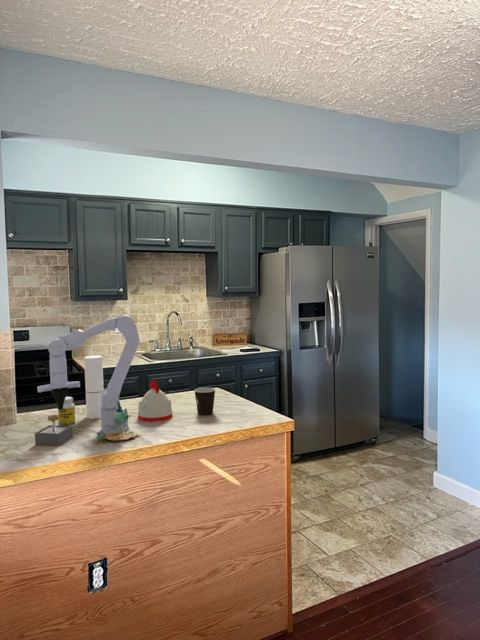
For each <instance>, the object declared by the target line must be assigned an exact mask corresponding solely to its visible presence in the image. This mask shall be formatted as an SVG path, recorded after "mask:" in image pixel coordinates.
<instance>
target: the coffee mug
mask: <svg viewBox="0 0 480 640" xmlns="http://www.w3.org/2000/svg"><path fill="white" fill-rule="evenodd" d="M194 394H195V395H194V396H195V403H196V404H195V405H196V410H197V411H196V412H197V415H199V416H205V417H206V416H211V415H213V413H214V407H215V405H214V404H215V397H216V396H215V395H216V389H215V388H213V387H198V388H195V389H194Z"/></svg>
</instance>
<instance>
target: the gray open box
mask: <svg viewBox="0 0 480 640" xmlns="http://www.w3.org/2000/svg"><path fill="white" fill-rule="evenodd" d="M49 427H52V424H51V425H47V426H46V427H45V426H44V427H43V428H42V429H40V430H38V431H35V432H34V442H35V444H34V445H35V446H51V447H61V446H62V445H64V444H65V443H67V442H68V441H70V440H71V439H73V438H74V435H73V427H72V426H58V425H56V424H55V427H66V428H67V429H65V430H63V431H61V432H60V433H58V434H57V433H40V432H42V431H44V430H45V429H47V428H49Z"/></svg>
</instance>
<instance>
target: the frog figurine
mask: <svg viewBox="0 0 480 640" xmlns="http://www.w3.org/2000/svg"><path fill="white" fill-rule="evenodd" d="M117 405H118V409H117V411H116V413H115V414H114V423H116V425H117V426H119V425H122V424H124V423H125V422H126V421H127V419H128V420H129V418H131V415H129V414H128V415H127V412H126V410H125V412H124V411H123V410H122V408H123V406H121V405H122V404H121V402H120V400H119V401H117ZM118 424H119V425H118ZM116 425H115V426H116ZM106 426H109V425H106ZM106 426H105V427H106ZM117 426H116V427H115V428H117ZM122 426H123V427H124V426H125V425H122ZM105 427H104V428H105ZM110 427H111V426H110ZM113 427H114V426H113ZM113 427H112V428H113ZM126 427H127V426H126ZM128 427H129V426H128ZM128 427H127V428H128ZM115 428H113V430H115ZM119 428H120V427H119ZM120 429H121V428H120ZM124 429H125V428H124ZM122 430H123V429H121V431H120V432H118V433H108V434H106V433H103V432H101V433H98V434H99V435H97V437H96V440H95V441H94V443H93V445H101V444H102V445H103V444H106V443H108V441H107V440H110V441H113V442H114V441H125V440H126V441H127V440H130V439H136V438H137V437H143V436H142V435H143V434H142V433H139V432H134V431H130V428H128V429H127V430H128V431H127V430H126V431H122ZM101 431H102V430H101ZM108 431H109V429H108ZM104 439H105V440H104Z"/></svg>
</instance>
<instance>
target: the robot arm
mask: <svg viewBox="0 0 480 640" xmlns="http://www.w3.org/2000/svg"><path fill="white" fill-rule="evenodd" d="M116 330H118V331H119V332H120V333H121V334H122V336H123V338H124V340H125V344H124V346H123V348H122V352H121V353H120V356H119V359H118V362H117V363H116V366H115V367H114V371H113V374H112V376H111V378H110V381H108V383H107V386H106V387H105V388H104V391H103V392H102V396H101V397H102V401H101V402H102V406H101V418H100V419H101V420H100V423H101V424H100V426H101V429H99V430H98V431H96V433H97V434H101V432H103V433H104V434H108V433H118V432H120V431H121V429H123V430H122V431H126V432H127V430H128V429H130V427H129V418H128V419H127V421H126V422H125V423H124V424H122V425H125V426H124V427H123V426H122V425H119V424H118V425H119V426H117V425H116V423H114V414H115V413H116V411H117V409H118V405H117V401H119V402H120V393H121V391H122V387H123V384H124V382H125V379H126V377H127V374H128V371H129V369H130V367H131V364H132V361H133V359H134V357H135V354H136V352H137V350H138V347H139V346H140V341H141V340H140V335H139V331H138V327H137V324H136V323H135V321H134V319H133V318H132V317H131V315H129V314H126V313H123V314H119V315H118V316H113V317H110V318H107V319H105V320H103V321H101V322H99V323H96V324H95V325H93V326H90V327H89V328H87V329H84V330H83V329H76V328H75V329H71V332H69V333H67V334H65V335H62V334H61V335H59V336H58V338H55V339H52V340H51V341H50V343H49V344H48V345H47V348H48V353H49V376H50V378H49V379H50V383H49V384H43V385H39V386H38V385H37V386H36V387H37V393H42V392H43V393H45V392H50V393H51V394H52V396H53V398H54V400H55V403H56V407H57V410H58V409H59V410H61V409H63V404H64V401H65V398H66V397H67V395H68V393H69V389H73V388H81V381H78V380H77V381H68V370H67V369H68V368H67V358H66V351H71V350H73V349H76V348H78V347H80V346H82V345H85V344H86V343H87V340H88V339H89V338H92V337H94V336H96V335H99V334H102V333H104V332H106V331H112V332H116ZM122 410H123V411H124V412H125V410H126V412H127V415H128V416H129V413H128V410H127V408H126V407H122ZM106 425H109V426H106ZM115 425H116V426H117V428H115V427H116V426H115ZM105 426H106V427H105ZM110 426H111V427H110ZM113 426H114V427H113ZM126 426H127V427H128V428H127V427H126ZM104 427H105V428H104ZM112 427H113V428H115V430H113V428H112ZM119 427H120V428H121V429H120V428H119ZM124 428H125V429H124ZM108 429H109V431H108ZM101 430H102V431H101Z"/></svg>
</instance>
